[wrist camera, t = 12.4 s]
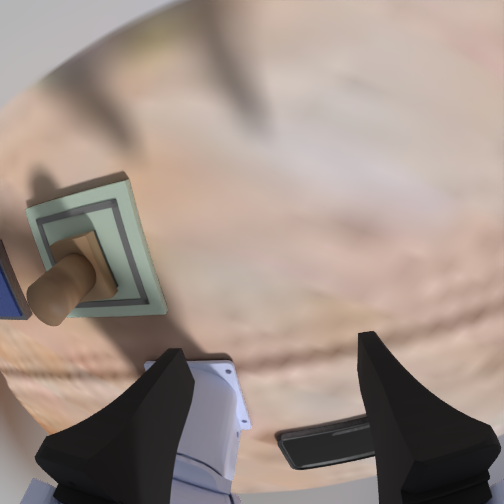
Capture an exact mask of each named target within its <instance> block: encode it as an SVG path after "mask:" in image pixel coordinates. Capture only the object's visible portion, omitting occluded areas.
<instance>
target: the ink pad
mask: <svg viewBox="0 0 504 504" xmlns="http://www.w3.org/2000/svg"><path fill="white" fill-rule="evenodd" d="M31 315H32V312H31V310H30V308H29V306H28V304H27V302H26V299H25V297H24V295H23V293H22V291H21V288H20V286H19V284H18V282H17V279H16V277H15V274H14V272H13V270H12V267H11V265H10V262H9V259H8V257H7V254H6V252H5V249H4V246H3V243H2V241H1V240H0V319H8V320H28V319H29V318H30V317H31Z"/></svg>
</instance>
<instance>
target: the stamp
mask: <svg viewBox="0 0 504 504" xmlns="http://www.w3.org/2000/svg"><path fill="white" fill-rule="evenodd" d="M49 248H50V250H51V253H52V255H53V257H54V260H55V262H56V264H55V265H54V266H53V267H52V268H51V269H49V270H48V271H47V272H46V273H45V274H43V275H42V276H41V277H40V278H39V279H38V280H36V281H35V282H34V283H33V284H32V285H31V286H30V287H29V288H28V290H27V301H28V304H29V306H30V308H31V310H32V312H33V313H34V314H35V315H36V317H37V318H38V319H39V320H41V321H42V322H43V323H45V324H47V325H50V326H58V325H59V324H61V322H62V321H63V320H64V319H65V318H66V317H67V316H68V314H69V313H70V312H71V311H72V310H73V309H74V308H75V307H76V306H77V304H78V303H81V302H89V301H96V300H103V299H110V298H113V297H114V295H115V294H116V293H117V292H118V290H117V287H118V284H117V281H116V279H115V277H114V274H113V272H112V270H111V267H110V265H109V263H108V260H107V258H106V255H105V253H104V250H103V248H102V245H101V243H100V240H99V238H98V235H97V232H96V230H94V231H93V230H92V231H89V232H85V233H82V234H78V235H75V236H72V237H68V238H65V239H62V240H59V241H56V242H55V243H53V244H52V245H50V246H49Z"/></svg>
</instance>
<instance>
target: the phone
mask: <svg viewBox="0 0 504 504" xmlns="http://www.w3.org/2000/svg"><path fill="white" fill-rule="evenodd" d="M278 446H279V448H280V450H281V451H282V453H283V455H284V456H285V458H286V460H287V461H288V463H289V465H290V466H291V468H293V469H295V470H306V469H313V468H319V467H325V466H331V465H336V464H342V463H347V462H351V461H356V460H361V459H365V458H369V457H374V456H375V450H374V442H373V437H372V433H371V429H370V425H369V421H368V417H365V418H361V419H357V420H352V421H348V422H344V423H339V424H334V425H329V426H324V427H319V428H314V429H308V430H302V431H296V432H290V433H284V434H281V435H280V436H279V437H278Z"/></svg>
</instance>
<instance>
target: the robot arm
mask: <svg viewBox="0 0 504 504" xmlns="http://www.w3.org/2000/svg"><path fill="white" fill-rule="evenodd" d="M144 368H145V370H146V372H145V373H144V374H143V375H142V376H141V377H140V378H139V379H138V380H137V381H136V382H135V383H134V384H133V385H131V386H130V387H129V388H128V389H127V390H126V391H125V392H124V393H123V394H121V395H120V396H119V397H118V398H117V399H115V400H114V401H113V402H111V403H110V404H109V405H107V406H106V407H105V408H103V409H102V410H100V411H98V412H97V413H95V414H94V415H92V416H90V417H89V418H87V419H85V420H84V421H82V422H80V423H78V424H76V425H74V426H72V427H70V428H67V429H65V430H63V431H60V432H57V433H55V434H52V435H49V436H46V438H45V440H44V441H43V443H42V445H41V447H40V448H39V450H38V452H37V454H36V456H35V460H36V462H37V464H38V465H39V466H40V467H41V468H42V469H43V470H44V471H45V472H46V473H47V474H48V475H50V476H51V477H52V478H53V479H54V480H55V481H56V482H57V483H59V484H58V486H57V488H55V487H53V486H52V485H50V484H48V483H45V482H43V481H41V480H38V479H36V478H33V479H32V481H31V483H30V485H29V487H28V489H27V491H26V493H25V495H24V497H23V499H22V501H21V503H20V504H242V503H241V500H240V498H239V496H238V495H237V494H234V493H231V492H230V491H231V484H232V480H233V478H234V474H235V468H236V461H237V455H238V448H239V442H240V435H241V430H248V429H251V427H252V423H251V420H250V417H249V414H248V410H247V407H246V404H245V401H244V397H243V394H242V390H241V387H240V384H239V380H238V377H237V373H236V370H235V366H234V364H233V362H232V361H230V360H211V361H186V358H185V356H184V353H183V351H182V348H173V349H168V350H167V351H166V352H165V353H163V355H162V356H161V357H160V358H159V359H158V360H157V361H146V362H145V364H144ZM227 369H229V370H230V371H229V370H227ZM357 371H358V378H359V384H360V391H361V395H362V399H363V402H364V406H365V410H366V414H367V417H368V421H369V425H370V429H371V433H372V437H373V442H374V450H375V458H376V467H377V478H378V492H379V504H504V479H503V480H501V481H499V482H497V483H495V484H493V485H492V486H490V487H489V484H488V480H489V479H490V475H489V472H488V469H489V467H490V466H491V465H492V464H493V462H494V461H495V460H496V458H497V457H498V455H499V453H500V451H501V446H500V443H499V440H498V438H497V436H496V434H495V432H494V431H493V429H492V427H491V426H490V425H488V424H486V423H483V422H481V421H478V420H476V419H474V418H471V417H469V416H467V415H466V414H464V413H462V412H460V411H458V410H456V409H455V408H453V407H452V406H450V405H449V404H447V403H445V402H444V401H442V400H441V399H439V398H438V397H437V396H435V395H434V394H433V393H431V392H430V391H429V390H428V389H426V388H425V387H424V386H423V385H422V384H421V383H419V382H418V381H417V380H416V379H415V378H414V377H413V376H412V375H411V374H410V373H409V372H408V371H407V370H406V369H405V368H404V367H403V366H402V365H401V364H400V362H399V361H398V360H397V359H396V358H395V357H394V356H393V355H392V353H391V352H390V351H389V350H388V348H387V347H386V346H385V345H384V343H383V342H382V341H381V340H380V338H379V337H378V335H377V334H376V333H375V332H374V331H369V332H362V333H358V363H357Z"/></svg>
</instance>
